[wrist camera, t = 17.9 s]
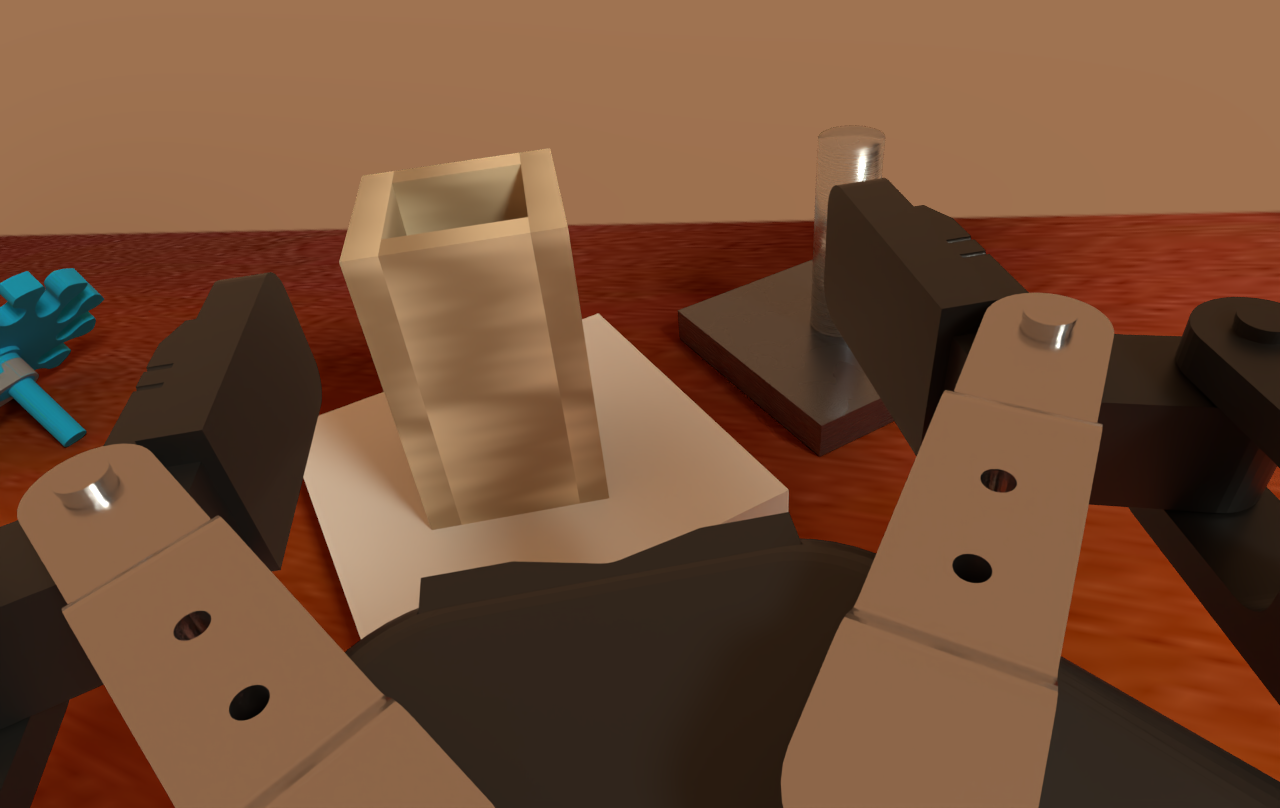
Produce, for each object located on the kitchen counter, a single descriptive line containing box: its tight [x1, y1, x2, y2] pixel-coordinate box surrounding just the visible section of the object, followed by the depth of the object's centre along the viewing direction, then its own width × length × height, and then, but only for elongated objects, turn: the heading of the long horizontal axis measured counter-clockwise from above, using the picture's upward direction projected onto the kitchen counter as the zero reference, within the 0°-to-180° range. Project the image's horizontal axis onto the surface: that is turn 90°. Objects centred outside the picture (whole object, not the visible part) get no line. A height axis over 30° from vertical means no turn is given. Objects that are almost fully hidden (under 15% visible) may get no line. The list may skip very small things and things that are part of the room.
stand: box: [678, 126, 894, 456], centre depth 33 cm, size 10×10×10 cm
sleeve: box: [339, 148, 609, 530], centre depth 27 cm, size 6×6×10 cm
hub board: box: [303, 314, 789, 639], centre depth 29 cm, size 14×14×8 cm
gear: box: [0, 268, 104, 447], centre depth 35 cm, size 11×6×10 cm
